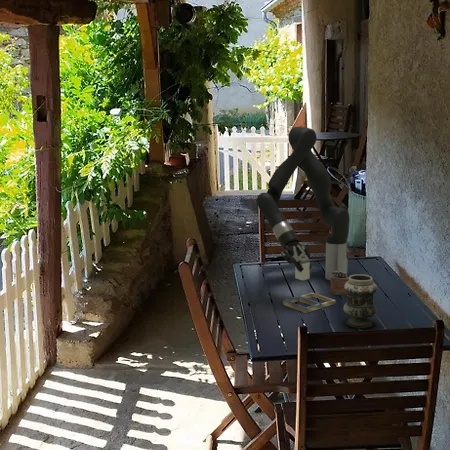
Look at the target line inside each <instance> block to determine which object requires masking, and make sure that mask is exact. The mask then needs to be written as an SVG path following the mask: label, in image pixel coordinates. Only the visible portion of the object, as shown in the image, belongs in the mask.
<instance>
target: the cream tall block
mask: <svg viewBox="0 0 450 450" xmlns="http://www.w3.org/2000/svg"><path fill="white" fill-rule="evenodd" d="M297 258H298V257H297ZM310 261H311V259H310V258H309V259H307V258H304V257H302V258H298V262H300V264H301V265H302V267H303V269H304V270H303V271H302V272H299V271H298V270H297V268H296V266H295V265H294V266H295V267H294V269H295V270H294V271H295V273H294V275H295V276H294V278H295V279H297V280H299V281H305V280H309V279H310V270H311V269H310V263H311V262H310Z"/></svg>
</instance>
